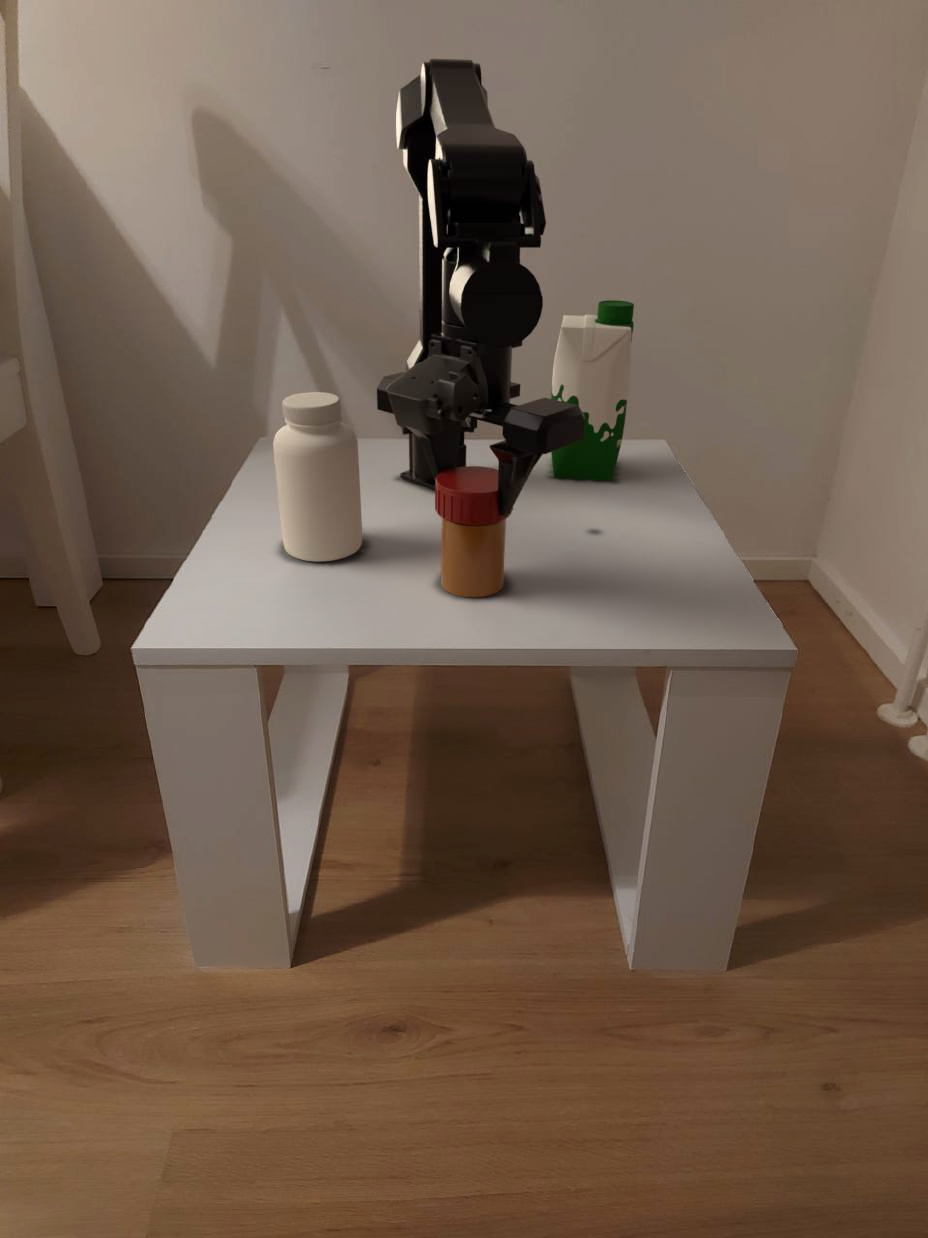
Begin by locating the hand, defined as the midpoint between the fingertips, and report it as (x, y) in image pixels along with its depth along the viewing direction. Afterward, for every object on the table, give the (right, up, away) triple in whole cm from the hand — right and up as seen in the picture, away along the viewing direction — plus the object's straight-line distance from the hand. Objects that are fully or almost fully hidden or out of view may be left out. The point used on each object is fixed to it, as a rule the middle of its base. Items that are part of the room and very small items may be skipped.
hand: (473, 503), depth 77 cm
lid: (0, -1, 0) cm, 1 cm away
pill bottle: (-15, -3, +11) cm, 19 cm away
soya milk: (+14, +8, +32) cm, 36 cm away
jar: (0, -7, +4) cm, 8 cm away
